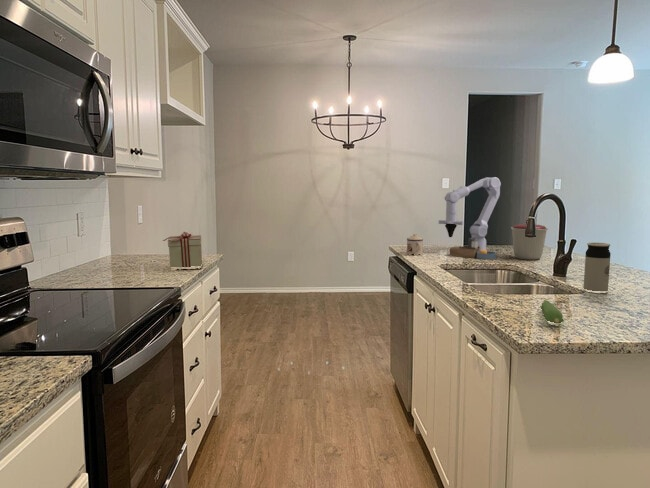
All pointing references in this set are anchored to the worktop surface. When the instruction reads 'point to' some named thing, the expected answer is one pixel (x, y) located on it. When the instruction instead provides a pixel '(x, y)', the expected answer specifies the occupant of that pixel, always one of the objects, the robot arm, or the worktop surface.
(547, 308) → the green elongated piece
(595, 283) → the travel mug
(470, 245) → the plunger
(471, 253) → the brown rectangular box
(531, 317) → the worktop surface
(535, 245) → the white bucket
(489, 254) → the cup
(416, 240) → the teacup with lid
